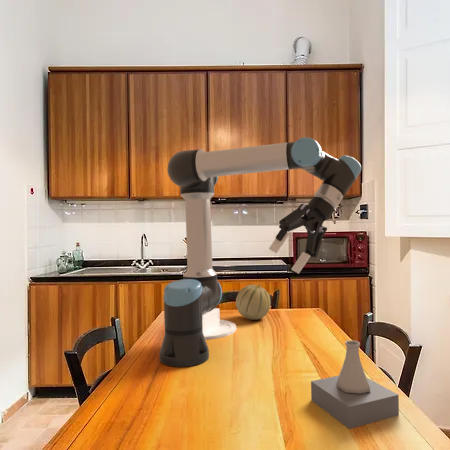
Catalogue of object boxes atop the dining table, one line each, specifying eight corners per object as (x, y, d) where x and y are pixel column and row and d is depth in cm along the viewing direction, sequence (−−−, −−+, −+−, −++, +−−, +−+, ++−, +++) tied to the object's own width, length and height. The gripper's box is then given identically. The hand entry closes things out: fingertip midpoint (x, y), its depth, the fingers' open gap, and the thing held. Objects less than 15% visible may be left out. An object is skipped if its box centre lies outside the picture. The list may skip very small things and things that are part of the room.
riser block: (349, 431, 74) (348, 406, 74) (311, 402, 86) (311, 381, 86) (398, 418, 79) (398, 394, 79) (356, 392, 91) (356, 371, 91)
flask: (376, 394, 79) (375, 347, 79) (343, 395, 79) (342, 348, 79) (362, 379, 86) (361, 336, 86) (331, 381, 86) (330, 338, 86)
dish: (180, 321, 159) (179, 295, 159) (238, 322, 156) (238, 295, 156) (164, 339, 134) (163, 308, 134) (233, 340, 131) (232, 309, 131)
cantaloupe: (235, 315, 166) (234, 281, 165) (267, 314, 166) (266, 280, 166) (238, 324, 151) (237, 287, 151) (274, 323, 152) (273, 286, 152)
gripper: (316, 181, 99) (271, 246, 97) (349, 227, 115) (312, 284, 113) (296, 175, 105) (253, 236, 102) (330, 220, 121) (294, 274, 119)
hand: (284, 261), depth 108 cm, fingers open, 13 cm apart
